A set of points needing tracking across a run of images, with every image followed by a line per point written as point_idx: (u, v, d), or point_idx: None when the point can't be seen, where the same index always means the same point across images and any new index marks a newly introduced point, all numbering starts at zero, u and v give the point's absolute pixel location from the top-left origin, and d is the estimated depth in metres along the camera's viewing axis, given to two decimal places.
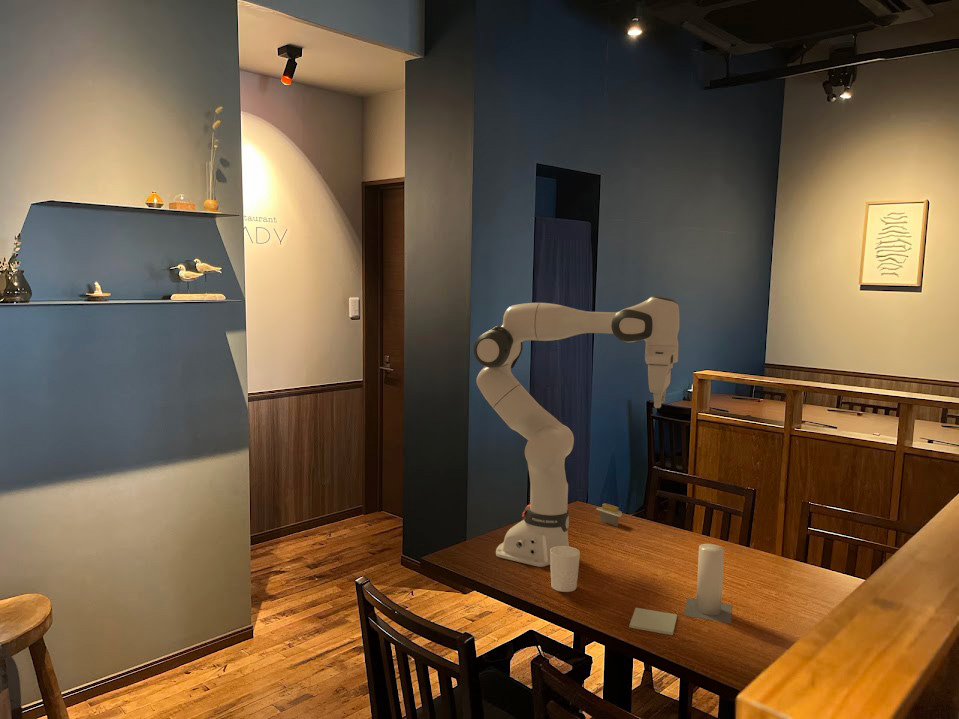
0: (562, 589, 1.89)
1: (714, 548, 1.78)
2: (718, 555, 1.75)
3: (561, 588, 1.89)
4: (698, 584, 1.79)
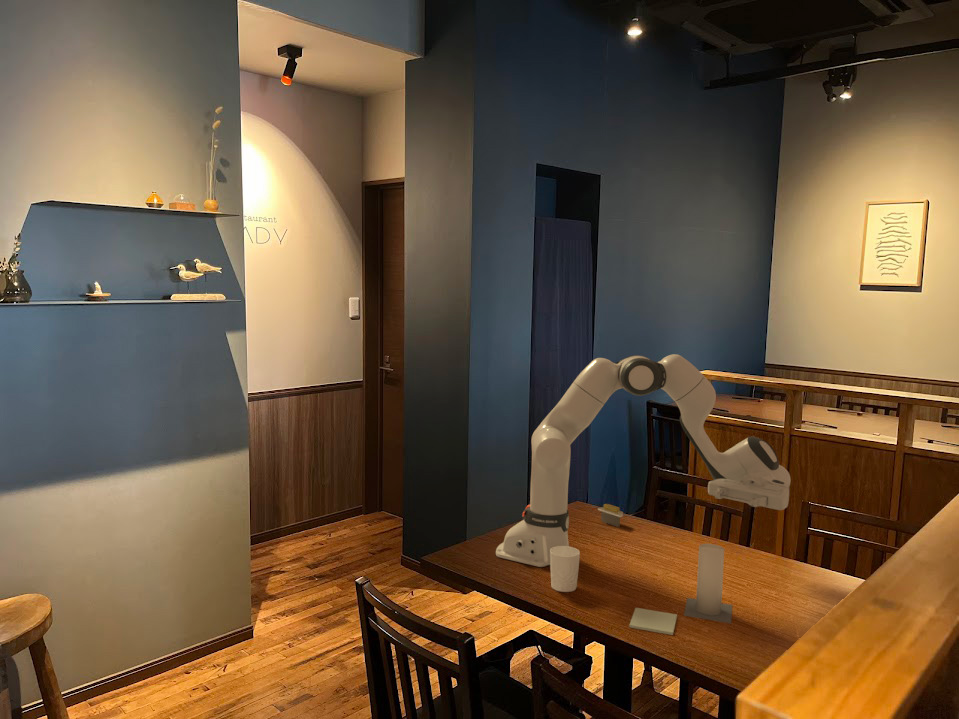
0: (562, 589, 1.89)
1: (714, 548, 1.78)
2: (718, 555, 1.75)
3: (561, 588, 1.89)
4: (698, 584, 1.79)
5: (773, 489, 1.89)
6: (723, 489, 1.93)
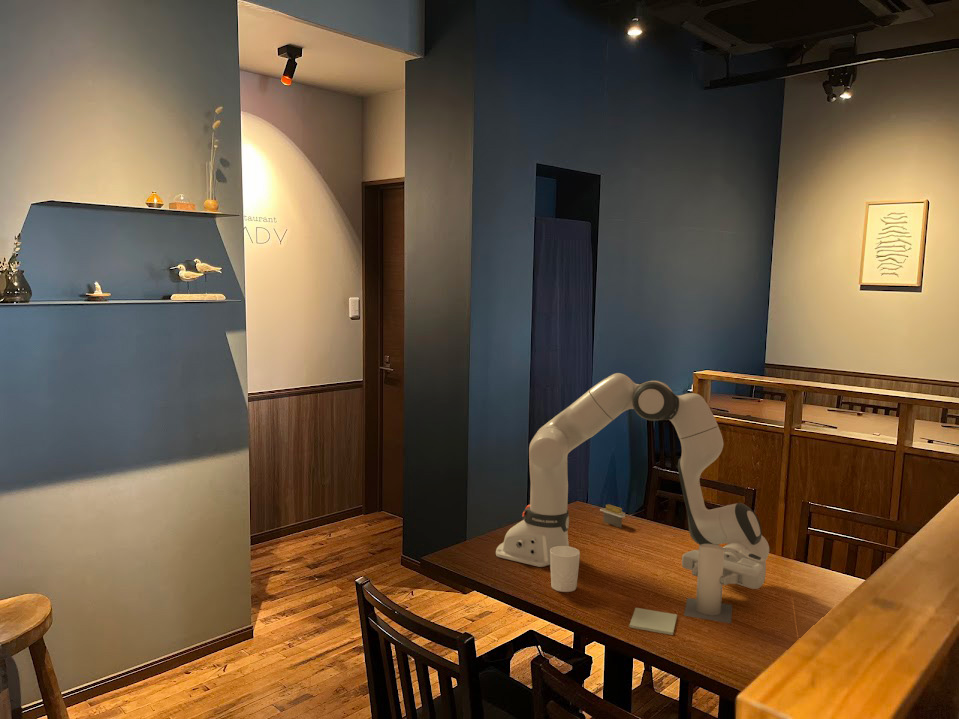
0: (562, 589, 1.89)
1: (714, 548, 1.78)
2: (718, 555, 1.75)
3: (561, 588, 1.89)
4: (698, 584, 1.79)
5: (749, 565, 1.81)
6: None
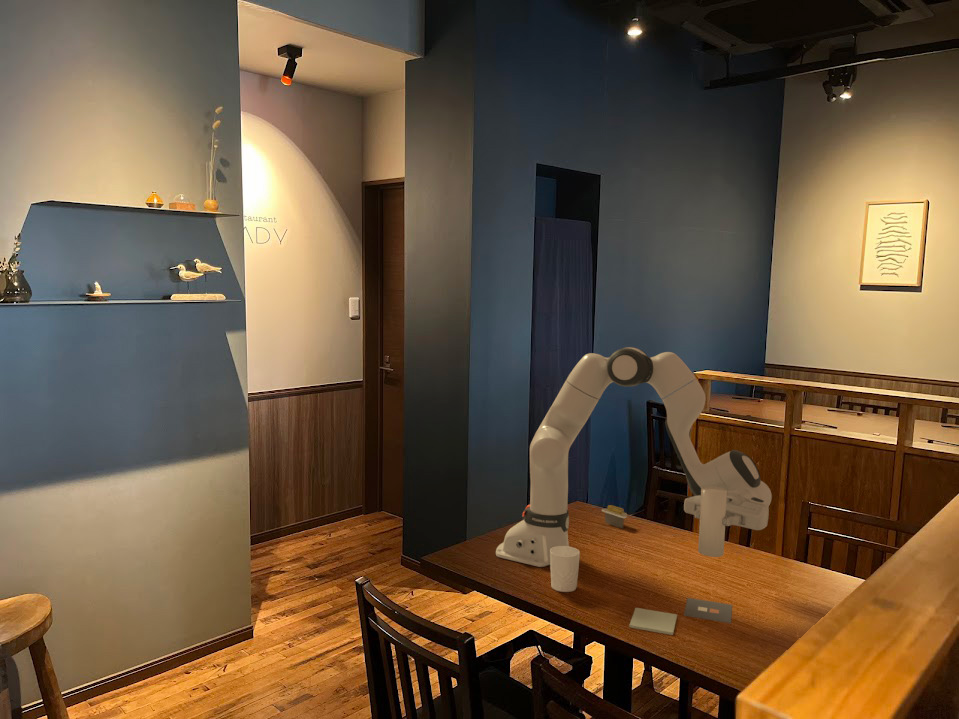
0: (562, 589, 1.89)
1: (716, 489, 1.77)
2: (721, 496, 1.74)
3: (561, 588, 1.89)
4: (700, 526, 1.77)
5: (752, 508, 1.80)
6: None
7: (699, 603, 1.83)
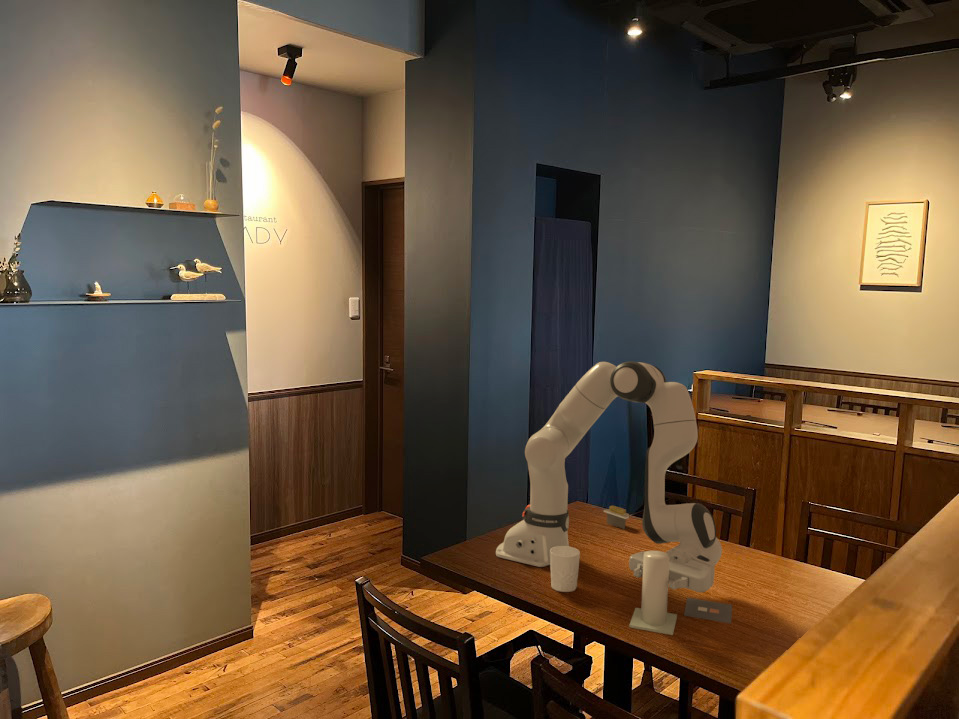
0: (562, 589, 1.89)
1: (659, 555, 1.71)
2: (663, 563, 1.68)
3: (561, 588, 1.89)
4: (643, 593, 1.71)
5: (697, 567, 1.74)
6: None
7: (699, 603, 1.83)
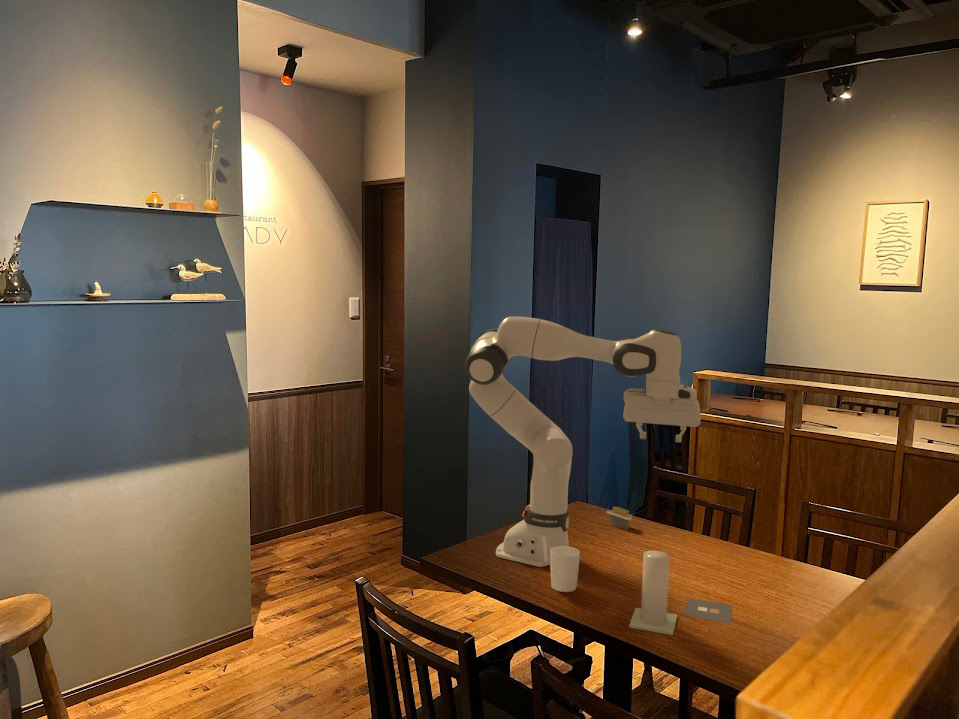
0: (562, 589, 1.89)
1: (659, 555, 1.71)
2: (663, 563, 1.68)
3: (561, 588, 1.89)
4: (642, 593, 1.71)
5: (683, 405, 1.90)
6: (641, 423, 1.96)
7: (699, 603, 1.83)
